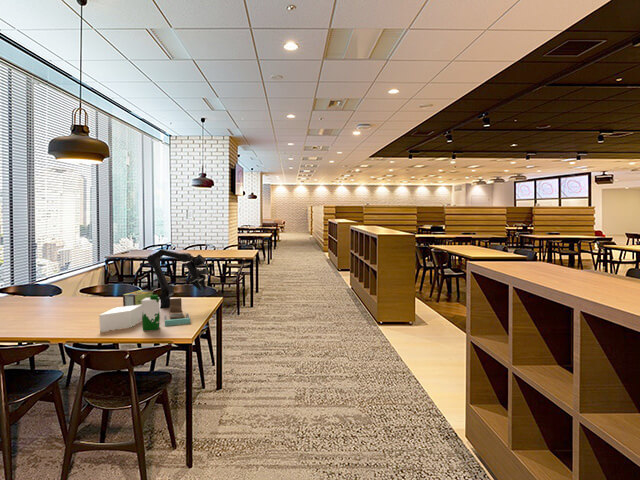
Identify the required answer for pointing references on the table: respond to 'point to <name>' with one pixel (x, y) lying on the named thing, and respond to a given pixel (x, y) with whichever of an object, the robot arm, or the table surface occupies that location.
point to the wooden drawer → (176, 309)
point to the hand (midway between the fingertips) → (203, 289)
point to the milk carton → (150, 313)
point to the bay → (177, 321)
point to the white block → (120, 317)
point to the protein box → (135, 297)
